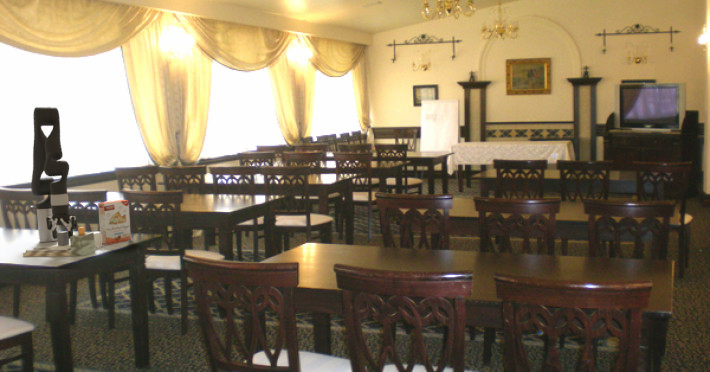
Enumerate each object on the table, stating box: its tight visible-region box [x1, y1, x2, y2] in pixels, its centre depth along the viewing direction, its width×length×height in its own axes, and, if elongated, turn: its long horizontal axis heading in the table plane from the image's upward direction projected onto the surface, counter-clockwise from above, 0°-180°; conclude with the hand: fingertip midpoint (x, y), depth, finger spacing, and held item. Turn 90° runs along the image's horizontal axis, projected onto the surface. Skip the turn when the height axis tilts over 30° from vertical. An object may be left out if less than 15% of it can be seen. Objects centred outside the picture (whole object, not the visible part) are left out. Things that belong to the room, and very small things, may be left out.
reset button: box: [77, 226, 86, 235], centre depth 300 cm, size 3×3×5 cm
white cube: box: [88, 230, 102, 248], centre depth 316 cm, size 7×7×7 cm
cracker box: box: [97, 199, 132, 246], centre depth 325 cm, size 14×6×21 cm, turn 143°
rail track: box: [22, 232, 96, 257], centre depth 302 cm, size 30×10×9 cm, turn 83°
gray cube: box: [49, 230, 71, 250], centre depth 301 cm, size 8×9×8 cm
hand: (63, 238), depth 301 cm, fingers open, 7 cm apart
